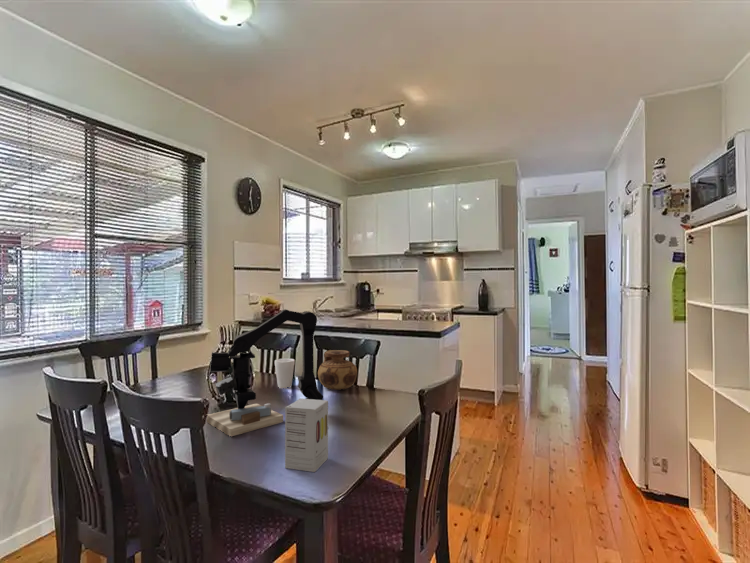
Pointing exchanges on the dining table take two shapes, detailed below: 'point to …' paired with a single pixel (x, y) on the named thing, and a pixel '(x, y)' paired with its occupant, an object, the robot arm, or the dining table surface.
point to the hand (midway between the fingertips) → (240, 413)
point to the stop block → (250, 417)
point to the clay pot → (337, 370)
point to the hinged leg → (263, 411)
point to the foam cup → (284, 372)
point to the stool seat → (234, 426)
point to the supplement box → (306, 434)
